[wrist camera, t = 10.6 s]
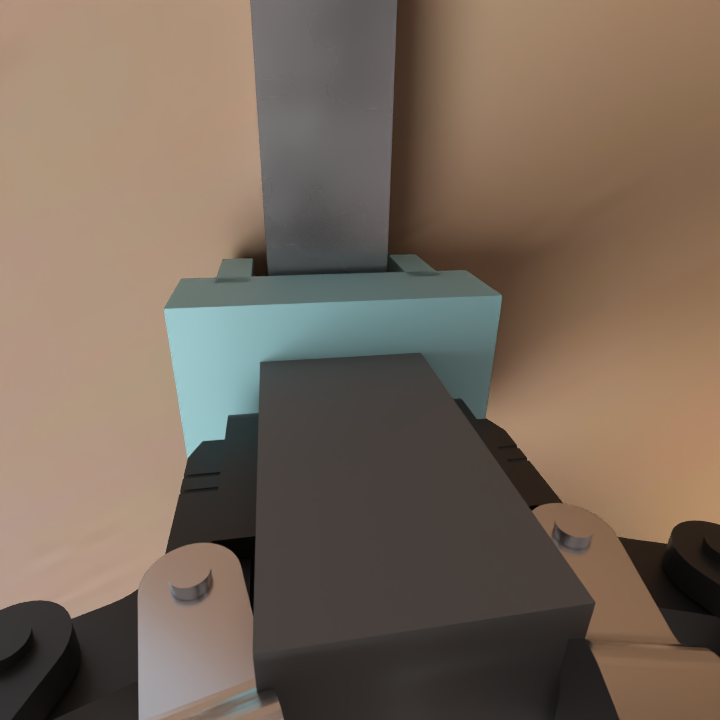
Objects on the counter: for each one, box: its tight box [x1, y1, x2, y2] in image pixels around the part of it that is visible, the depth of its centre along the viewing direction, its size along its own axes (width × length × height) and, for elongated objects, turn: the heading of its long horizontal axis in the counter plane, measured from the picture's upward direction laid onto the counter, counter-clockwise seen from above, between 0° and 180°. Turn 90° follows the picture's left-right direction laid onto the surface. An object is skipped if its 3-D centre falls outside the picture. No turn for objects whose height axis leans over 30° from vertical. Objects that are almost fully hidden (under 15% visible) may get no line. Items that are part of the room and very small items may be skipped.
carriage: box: [164, 254, 596, 720], centre depth 10 cm, size 6×7×11 cm
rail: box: [250, 0, 397, 276], centre depth 13 cm, size 20×5×3 cm, turn 179°
